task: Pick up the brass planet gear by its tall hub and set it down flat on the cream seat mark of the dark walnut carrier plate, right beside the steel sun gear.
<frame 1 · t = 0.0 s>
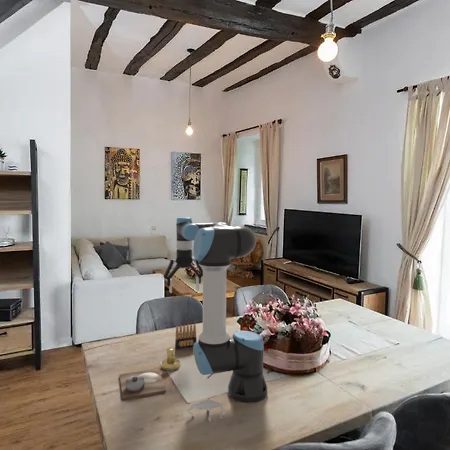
hand: (184, 291, 180), 28 cm above the table, tool pointing down, fingers open, 13 cm apart
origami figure: (205, 417, 125), on the table
carrier plate: (141, 384, 146), on the table
ammunition clip: (186, 347, 180), on the table
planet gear: (170, 366, 161), on the table
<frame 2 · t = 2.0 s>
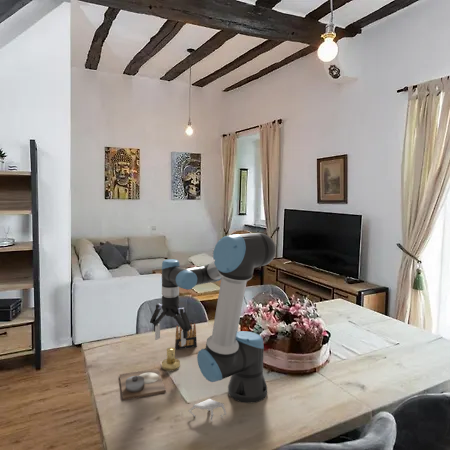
hand: (170, 342, 160), 11 cm above the table, tool pointing down, fingers open, 13 cm apart
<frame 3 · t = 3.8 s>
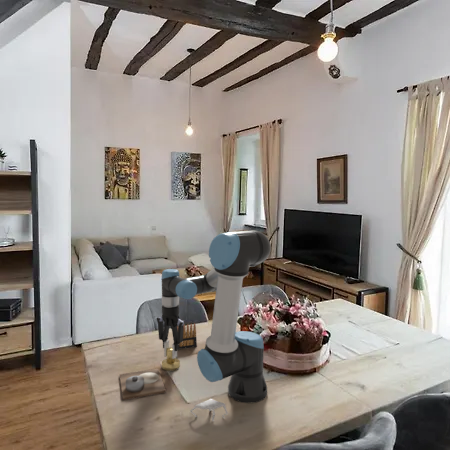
hand: (170, 356, 160), 5 cm above the table, tool pointing down, fingers closed on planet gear, 3 cm apart
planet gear: (170, 366, 161), on the table, touching gripper
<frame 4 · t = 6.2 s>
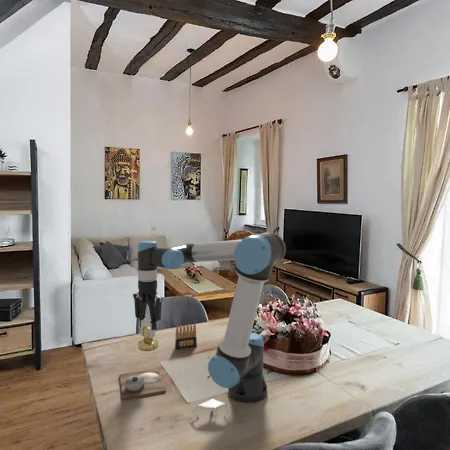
hand: (148, 335, 147), 19 cm above the table, tool pointing down, fingers closed on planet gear, 3 cm apart
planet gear: (148, 346, 148), point 14 cm above the table, touching gripper
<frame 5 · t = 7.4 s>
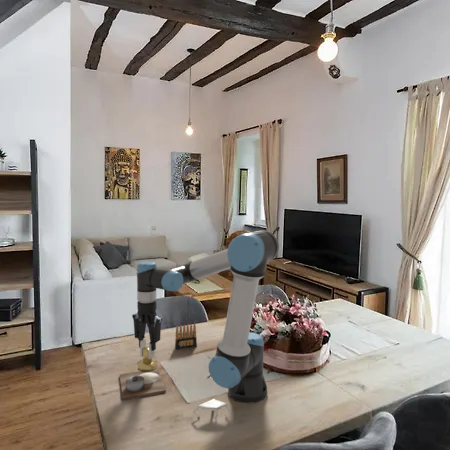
hand: (147, 356, 148), 10 cm above the table, tool pointing down, fingers closed on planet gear, 3 cm apart
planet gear: (147, 367, 148), point 6 cm above the table, touching gripper
when the fingers open (7 cm above the table, at t = 8.6 s): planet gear drops 1 cm, resting on carrier plate.
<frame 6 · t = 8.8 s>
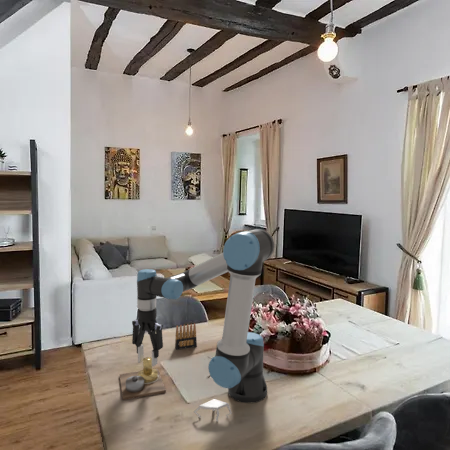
hand: (147, 363, 148), 7 cm above the table, tool pointing down, fingers open, 6 cm apart
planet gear: (147, 377, 148), point 1 cm above the table, touching carrier plate
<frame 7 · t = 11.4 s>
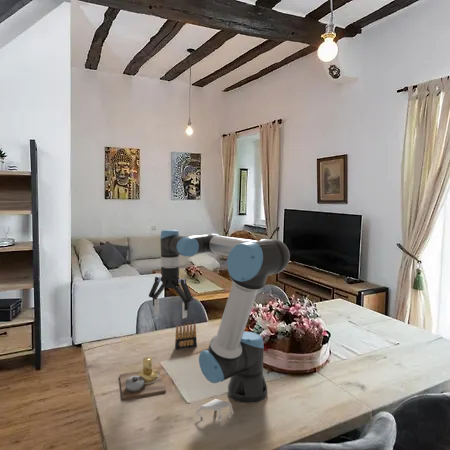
hand: (170, 315, 154), 25 cm above the table, tool pointing down, fingers open, 13 cm apart
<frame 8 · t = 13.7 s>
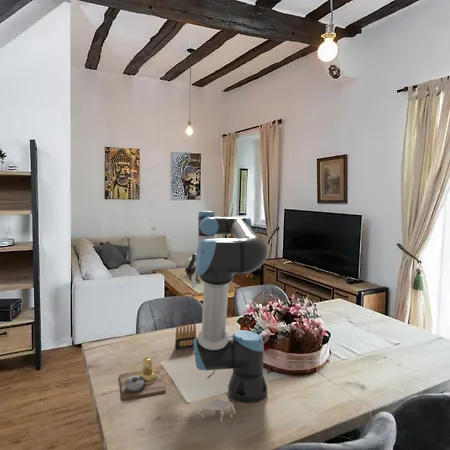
hand: (206, 289, 169), 32 cm above the table, tool pointing down, fingers open, 13 cm apart
at the end: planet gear 0.0 cm from the target spot on the carrier plate, point 1.1 cm above the carrier plate's base; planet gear tilted 0°; the gripper is holding nothing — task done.
